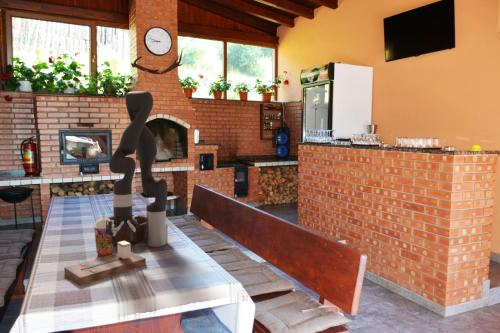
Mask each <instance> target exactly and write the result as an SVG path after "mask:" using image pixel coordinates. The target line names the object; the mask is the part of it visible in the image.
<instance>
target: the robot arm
mask: <svg viewBox="0 0 500 333" xmlns="http://www.w3.org/2000/svg"><path fill="white" fill-rule="evenodd" d="M125 106H126V110H127V113H128V116H129V117H128V118H129V121H130V124H129V125H127V127H125V129H124V130H123V132H122V135H121V138H120V140H119V144H118V147H117V148H116V150H115V151H114V153H113V154H112V156H111V158H109V161H108V162H109V163H108V168H109V171H110V172H111V173H113V174H121V175H123V177H122V178H119V179H115V180H114V182H113V200H112V202H113V206H112V207H113V208H112V209H113V210H112V212H113V216H114V219H113V220H107V221H106V234H107V235H110V236H111V243H112V244H113V246H116V245H115V244H116V236H115V235H116V233H117V232H118V231H119V230H120V229H123V228H129V229H130V230H131V231H130V240H132V241H133V240H134V239H135V231H136V230H139V229H140V226H139V216H136V215H137V214H133V195H132V191H133V190H132V184H133V179H134V176H135V172H136V168H137V164H136V163H137V162H136V161H135V159H134V158H133V157H131V156H130V155H133V154H135V153H136V152H137V157H138V163H139V170H140V179H141V188H142V189H141V190H142V192H143V194H144V195H145V196H147V197H153V198H154V201H153V202H149V203H148V204H147V205H146V207H145V209H146V217H147V237H146V246H148V247H151V248H158V247H163V246H165V245H167V244H168V242H169V241H168V240H169V238H168V235H169V234H168V233H169V230H168V229H169V228H168V226H169V224H167V216H166V215H167V213H166V211H167V203H168V182H167V180H166V179H165V178H163V177H162V178H161V177H154V175H153V171H152V170H153V164H154V162H155V160H156V157H157V155H158V148H157V142H156V138H155V136H154V134H153V133H152V132H151V130H150V129H149V128H148V126H147V125H146V123H147V121H148V118H149V117H150V114H151V112H152V111H153V107H154V97H153V94H152V93H151V92H149V91H145V90H142V91H140V90H138V91H129V92H127V93H126V94H125ZM132 215H134V216H133V217H132ZM132 220H133V221H134V226H133V225H132V224H131V222H132ZM113 223H114V224H115V225H114V226H113V228H112V225H113ZM116 227H117V228H116Z"/></svg>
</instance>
